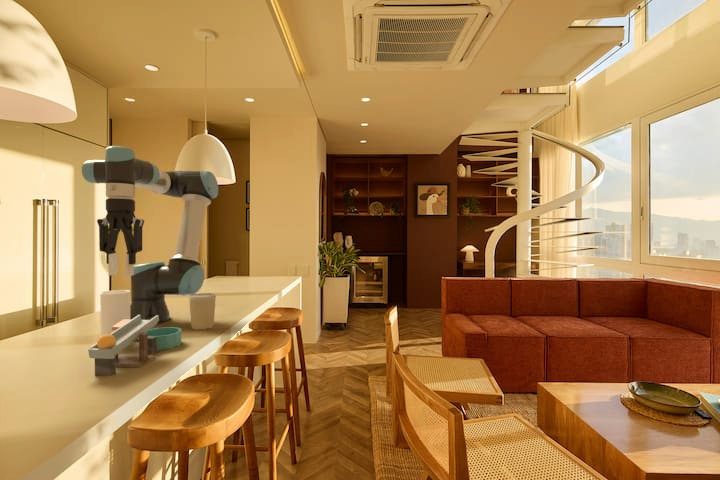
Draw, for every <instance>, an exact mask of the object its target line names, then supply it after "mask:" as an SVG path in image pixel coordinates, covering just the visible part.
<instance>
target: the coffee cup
mask: <svg viewBox="0 0 720 480" xmlns="http://www.w3.org/2000/svg"><path fill="white" fill-rule="evenodd" d="M216 298H217V296H216V294H215V293H210V292H202V293H201V292H200V293H195V294H193V295H189V297H188V300H189V311H190V312H189V313H190V324H191V325H190V326H191V329H192V330H207V328H208V329H211V328H213V327H214V326H215V313H216V312H215V311H216Z"/></svg>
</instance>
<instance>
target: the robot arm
mask: <svg viewBox="0 0 720 480" xmlns="http://www.w3.org/2000/svg"><path fill="white" fill-rule="evenodd" d="M81 175H82V177H83V178H84V180H85V181H86V182H88V183H91V184H105V197H106V199H105V211H106V213H107V214H106V215H105V217H103V218H99V219H97V221H96V222H97V225H98V234H99V235H98V237H99V239H98V240H99V241H98V242H99V243H98V244H99V251H100V252H103V253H105V254H106V255H105V256H106V264H107V265H108V276H117V275H118V253H117V251H116V247H117V244H118V243H117V242H118V237H119V235H120V232H122V234H123V238H124V242H125V246H126V251H127V252H125V254H124V275H125V276H130V320H132V319H133V318H135V317H136V316H138V315H141V320H151V319H152V318H153V317H155V316H156V315H158V316H159V321H158V323H157V324H159V323H163V322H167V321H168V320H169V319H170V314H171V313H170V311H169V309H168V308H169V307H168V305H167V303H166V300H165V299H166V296H168V295H169V296H170V295H171V296H173V295H174V296H190V295H193V294H198V292H199V291H200V290H201V289H202V286H203V284H204V281H205V274H204V273H205V269H204V268H203V267H202V266H201V262H200V261H199V259H198V257H199V251H200V245H201V239H202V233H203V228H204V222H205V216H206V210H207V207H208V206H210V205H211V203H212V199H215V198H217V197H218V196H219V184H218V181H217V178H216V176H215V175H214V173H212V171H209V170H208V171H207V170H206V171H205V170H172V171H165V170H164V171H163V170H160V169H159V167H158V166H157V165H156V164H154V163H152V162H150V161H147V160H143V159H139V158H136V154H135V151H134V149H133V148H131V147H128V146H127V147H126V146H120V145H110V146H107V147H106V149H105V157H104V160H103V159H98V160H97V159H93V160H92V159H91V160H86V161H84V162H83V164H82V166H81ZM136 189H141V190H142V189H143V190H147V191H152V193H155V194H157V195H162V196H167V197H172V198H178V199H181V201H183V202H184V204H183V211H182V214H181V215H182V216H181V218H180V219H181V221H180V225H179V230H178V236H177V240H176V245H175V251H174V256H172V257H171V258H169V260H168V263H167V264H168V265H166V263H165V262H164V261H156V262H155V261H154V262H148V263H147V262H146V263H140V264H136V263H137V261H136V260H137V256H136V255H137V253H140V252H142V251H143V226H144V223H145V220H144V219H140V218H137V217H136V215H135V212H136V200H134V199H135V198H136ZM165 295H166V296H165Z"/></svg>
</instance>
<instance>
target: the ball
mask: <svg viewBox="0 0 720 480" xmlns="http://www.w3.org/2000/svg"><path fill="white" fill-rule="evenodd" d="M96 343H97V346H98V348H100V349H111V348H112V347H113V346H115V344H116V339H115V337H114V336H112V335H109V334H107V335H103V336H101V335H100V337H99V338H98V340H97V342H96Z"/></svg>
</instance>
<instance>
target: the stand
mask: <svg viewBox="0 0 720 480" xmlns="http://www.w3.org/2000/svg"><path fill="white" fill-rule="evenodd" d="M109 334H111V333H109ZM138 339H139V342H138V354H124V353H123V354H120V353H118V354H117V355H115V358H114V359H103V358H94V375H95V376H104V377H105V376H106V377H109V376H112V375H114V374H116V373H117V371H116V370H117V369H116V367H120V368H141V367H143V366H144V365H146V364H148V363H150V362H151V361H153V360H155V359H156V355H152V354H154V353H156V352H157V350H156V337H152V336H147V333H141V334H139V338H138ZM148 354H151V355H148Z"/></svg>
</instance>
